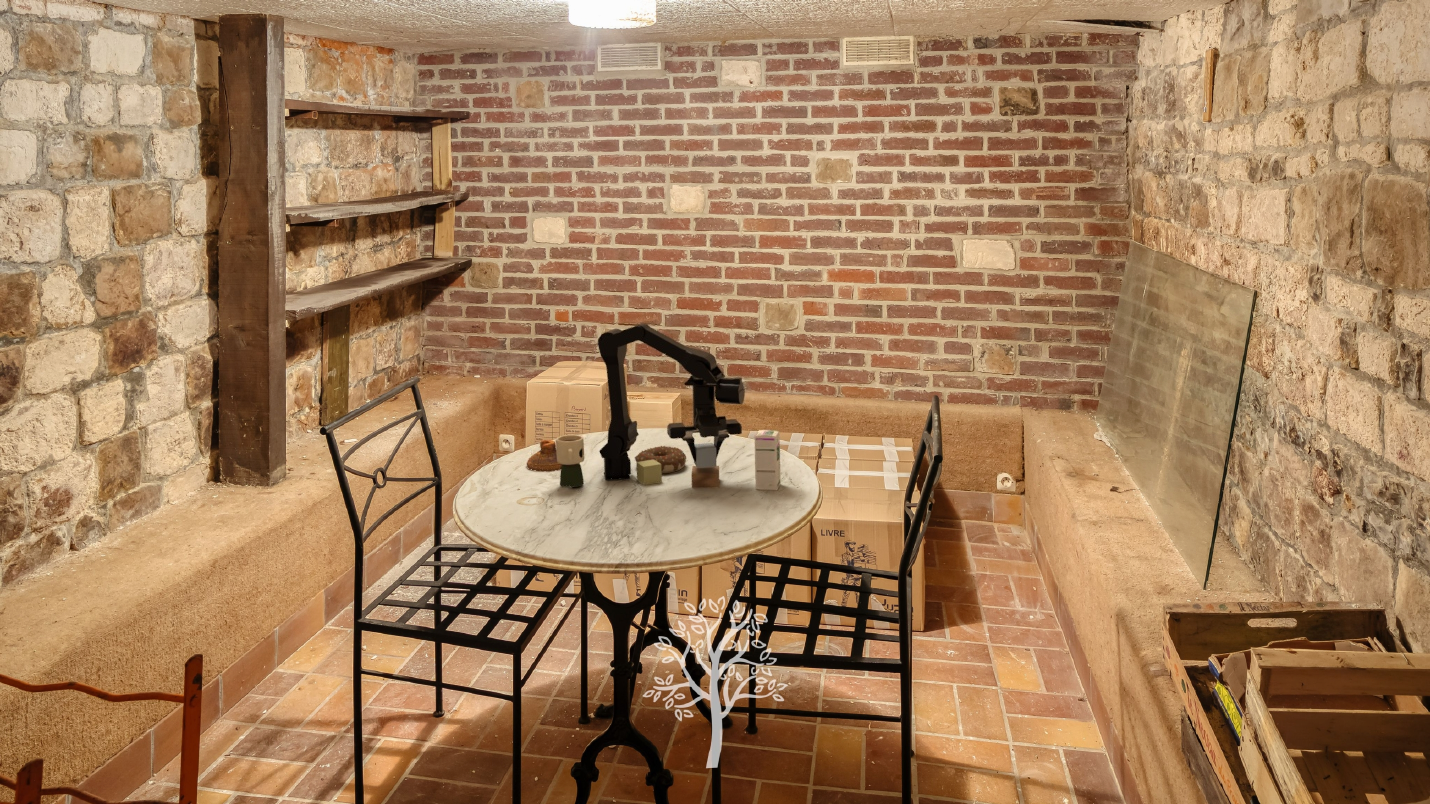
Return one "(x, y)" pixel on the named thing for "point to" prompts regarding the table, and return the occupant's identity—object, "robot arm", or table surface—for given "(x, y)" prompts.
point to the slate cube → (705, 455)
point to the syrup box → (767, 459)
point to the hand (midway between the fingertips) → (704, 460)
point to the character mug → (570, 459)
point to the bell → (545, 458)
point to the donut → (664, 458)
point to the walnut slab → (705, 477)
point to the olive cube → (649, 472)
